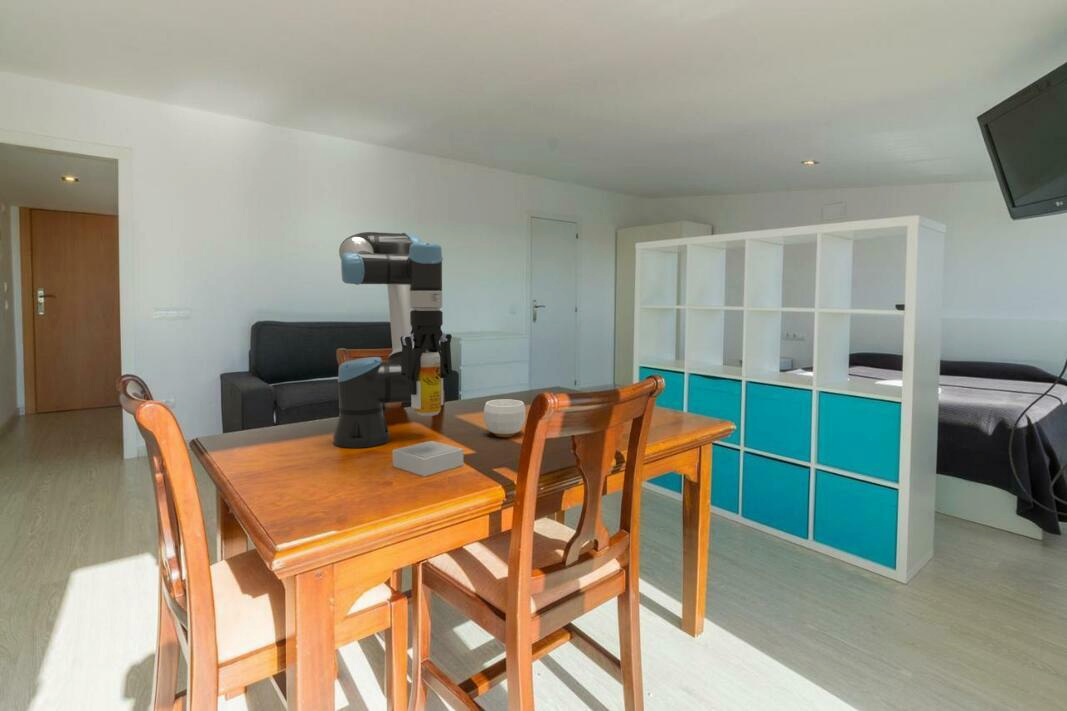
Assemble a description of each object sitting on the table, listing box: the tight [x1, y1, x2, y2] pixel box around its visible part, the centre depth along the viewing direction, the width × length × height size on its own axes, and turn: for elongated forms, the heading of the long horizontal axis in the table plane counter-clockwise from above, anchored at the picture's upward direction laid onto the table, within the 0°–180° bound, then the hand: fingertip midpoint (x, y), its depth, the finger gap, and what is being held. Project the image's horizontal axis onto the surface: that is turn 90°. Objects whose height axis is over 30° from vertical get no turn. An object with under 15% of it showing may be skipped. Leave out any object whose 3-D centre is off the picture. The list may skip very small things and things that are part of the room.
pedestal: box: [392, 440, 464, 478], centre depth 141 cm, size 12×12×4 cm
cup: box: [483, 398, 527, 438], centre depth 172 cm, size 12×12×10 cm
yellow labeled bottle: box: [414, 350, 442, 417], centre depth 139 cm, size 6×6×15 cm
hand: (427, 405), depth 140 cm, fingers closed on yellow labeled bottle, 6 cm apart
